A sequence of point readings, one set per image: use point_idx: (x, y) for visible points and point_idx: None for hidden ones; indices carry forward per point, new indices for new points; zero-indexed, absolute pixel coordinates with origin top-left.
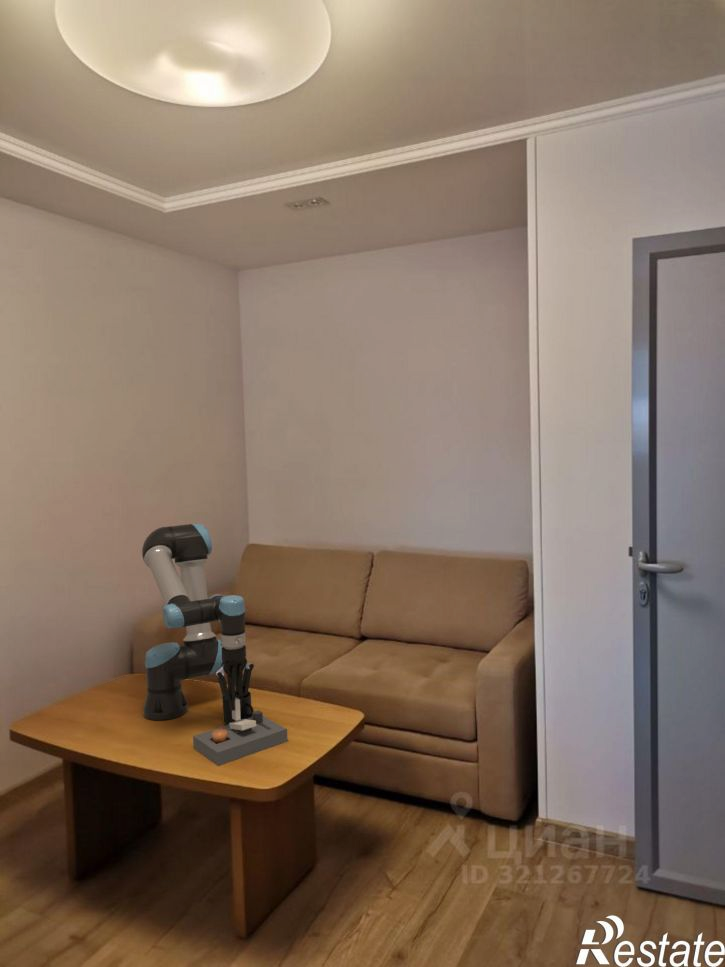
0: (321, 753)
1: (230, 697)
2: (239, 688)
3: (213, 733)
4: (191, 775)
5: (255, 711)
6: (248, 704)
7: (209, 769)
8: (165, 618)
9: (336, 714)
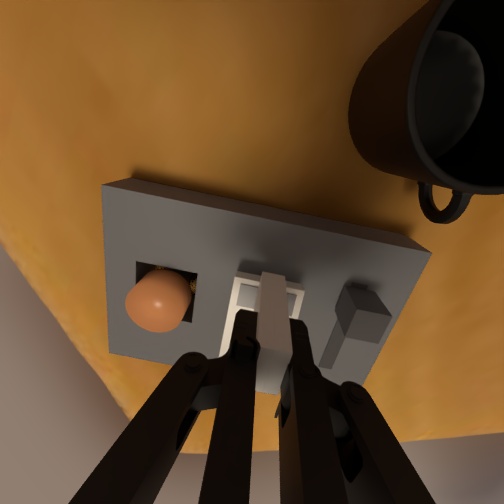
0: None
1: (211, 401)
2: (284, 491)
3: (129, 301)
4: (54, 309)
5: (372, 316)
6: (459, 203)
7: (104, 321)
8: None
9: None
